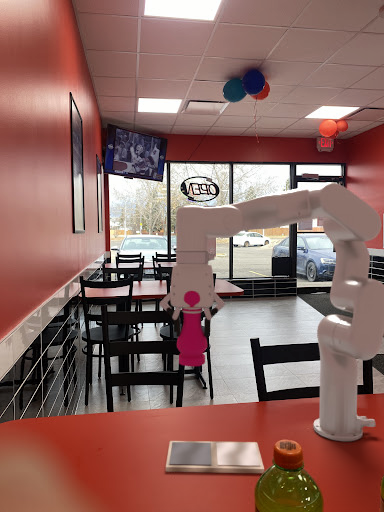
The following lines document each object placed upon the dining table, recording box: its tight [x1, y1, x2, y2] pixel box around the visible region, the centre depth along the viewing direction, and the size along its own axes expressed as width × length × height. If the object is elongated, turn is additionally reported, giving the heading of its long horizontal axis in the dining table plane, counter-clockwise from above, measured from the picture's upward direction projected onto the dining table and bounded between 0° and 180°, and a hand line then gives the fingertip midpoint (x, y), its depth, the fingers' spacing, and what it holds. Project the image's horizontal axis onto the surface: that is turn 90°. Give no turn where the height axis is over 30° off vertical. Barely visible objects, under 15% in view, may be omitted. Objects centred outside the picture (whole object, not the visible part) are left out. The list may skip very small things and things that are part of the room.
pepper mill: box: [176, 291, 208, 367], centre depth 97 cm, size 7×7×20 cm
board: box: [165, 440, 265, 474], centre depth 98 cm, size 22×12×1 cm, turn 88°
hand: (192, 334), depth 97 cm, fingers closed on pepper mill, 5 cm apart
